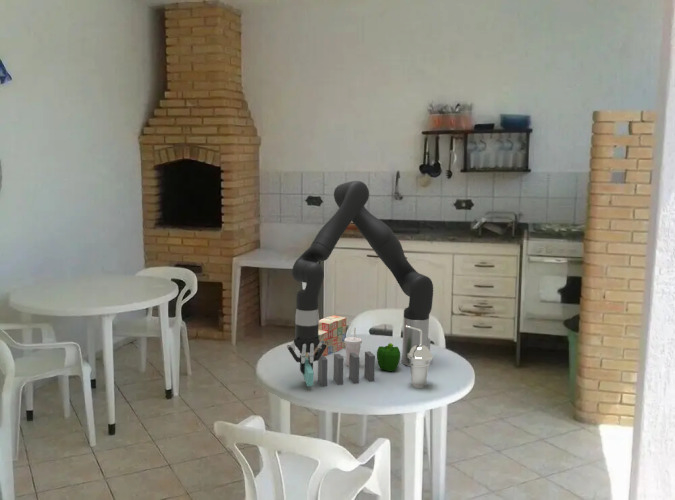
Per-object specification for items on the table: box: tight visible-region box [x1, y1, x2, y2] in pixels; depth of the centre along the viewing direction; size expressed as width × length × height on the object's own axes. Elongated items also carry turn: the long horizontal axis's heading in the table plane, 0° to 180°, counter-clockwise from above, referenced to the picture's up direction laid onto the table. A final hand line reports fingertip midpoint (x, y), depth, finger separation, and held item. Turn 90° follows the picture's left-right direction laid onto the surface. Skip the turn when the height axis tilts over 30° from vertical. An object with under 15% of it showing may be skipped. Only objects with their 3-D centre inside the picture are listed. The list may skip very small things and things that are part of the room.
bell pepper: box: [376, 342, 401, 372], centre depth 227 cm, size 8×8×10 cm
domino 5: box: [363, 351, 376, 383], centre depth 217 cm, size 2×5×9 cm, turn 17°
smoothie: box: [344, 327, 363, 367], centre depth 230 cm, size 6×6×14 cm
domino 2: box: [317, 355, 328, 387], centre depth 212 cm, size 2×5×9 cm, turn 17°
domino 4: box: [348, 353, 360, 384], centre depth 215 cm, size 2×5×9 cm, turn 17°
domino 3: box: [332, 353, 344, 386], centre depth 213 cm, size 2×5×9 cm, turn 17°
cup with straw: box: [406, 325, 434, 389], centre depth 211 cm, size 8×9×20 cm
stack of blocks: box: [305, 314, 347, 358], centre depth 245 cm, size 21×6×12 cm, turn 145°
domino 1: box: [301, 358, 315, 387], centre depth 209 cm, size 2×5×9 cm
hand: (306, 373), depth 210 cm, fingers closed on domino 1, 1 cm apart
